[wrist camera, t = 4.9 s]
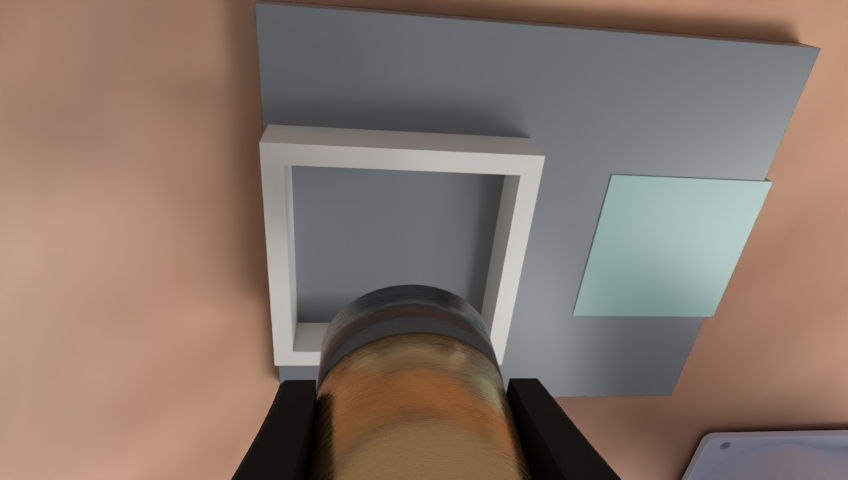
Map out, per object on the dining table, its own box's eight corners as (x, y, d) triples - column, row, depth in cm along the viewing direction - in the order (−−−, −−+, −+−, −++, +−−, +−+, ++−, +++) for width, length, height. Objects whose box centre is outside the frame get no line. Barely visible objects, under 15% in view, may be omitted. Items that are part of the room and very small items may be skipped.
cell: (502, 286, 12) (625, 604, 6) (477, 413, 14) (553, 742, 8) (320, 282, 12) (275, 625, 6) (320, 414, 13) (288, 766, 8)
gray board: (810, 44, 16) (872, 59, 14) (668, 381, 23) (696, 423, 21) (260, -1, 14) (243, 11, 12) (283, 384, 21) (275, 431, 19)
